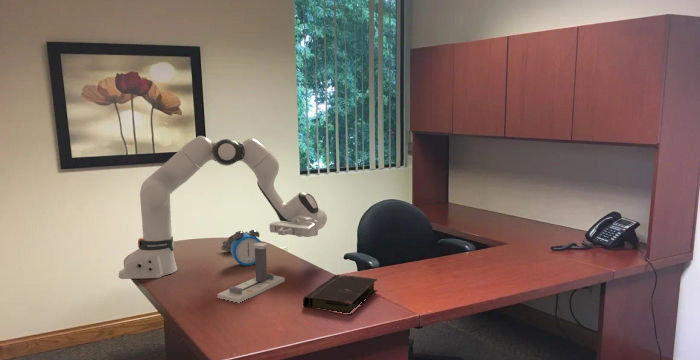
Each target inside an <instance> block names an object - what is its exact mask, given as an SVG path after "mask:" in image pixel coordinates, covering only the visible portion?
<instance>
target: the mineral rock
mask: <svg viewBox="0 0 700 360" xmlns="http://www.w3.org/2000/svg"><path fill="white" fill-rule="evenodd" d="M241 231H242V232H243V233H244V234H245V232H244V231H243V230H241ZM248 233H249V232H248ZM249 234H250V233H249ZM233 236H234V234H232V235H231V236H229V237H228V239H227V240H224V241H223V242H222V246H221V248H220V249H221V250H222V251H225V252H229V253H231V244H232V242H233V240H234V239H233Z"/></svg>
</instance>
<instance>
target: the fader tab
mask: <svg viewBox="0 0 700 360" xmlns="http://www.w3.org/2000/svg"><path fill="white" fill-rule="evenodd" d="M268 247H269V243H265V242H264V243H263V242H262V243H256V244H253V248H255V264H254V266H255V267H254V269H255V271H254V272H255V278H256V281H258V282H264V281H266V280H267V273H268V272H267V271H268V270H267V269H268V266H267V265H268V264H267V248H268Z"/></svg>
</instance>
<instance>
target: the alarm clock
mask: <svg viewBox="0 0 700 360" xmlns="http://www.w3.org/2000/svg"><path fill="white" fill-rule="evenodd" d="M242 231H243V230H238V231H236V232H235V233H234V234H233V235H234V236H233V239H234V240H233V242H232V244H231V252H230V254H231V257H232V258H233V259H234V260H235V261H236V263H238V264H239V265H240V267H242V266H244V267H245V266H247V267H248V266H253V265H255V248H253V244H256V243H263V242H262V241H261V240H260V239H259V237H260V235H261V234H260V232H259V231H258V230H257V229H251V230H249V231H245V232H244V231H243V232H244V233H245V234H244V233H243V232H242ZM249 233H250V234H249Z"/></svg>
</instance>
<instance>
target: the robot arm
mask: <svg viewBox="0 0 700 360" xmlns="http://www.w3.org/2000/svg"><path fill="white" fill-rule="evenodd" d="M209 161H215V162H216V163H218V164H219V165H221V166H226V167H228V166H232V165H234V164H235V163H237V162H242V163H244V164H245V165H246V166H248V168H250V170H251V171H252V172H253V173H254V175H255V178H256V179H257V180H256V181H257V186H258V189H259V190H260V192H261V193H262V195H263V196H264V197H265V199H266V200H267V202H268V203H269V204H270V206H271V207H272V209H273V210H274V211H275V214H276V215H277V218H278V219H279V220H278V221H274V222H270V223H269V231H270V233H276V234H277V235H281V236H286V235H287V236H288V235H290V236H296V237H298V238H300V237H301V238H302V237H303V238H305V237H306V238H311V237H317V236H318V235H319V230H322V229H323V228H324V227H325V226H326V225H327V221H328V218H327V217H328V216H327V213H326V212H325V211H324V210H322V209H320V208H319V205H318V203H317V201H316V199H315V197H314V196H313V195H312V194H310V193H308V192H305V191H301V192H299V193H297V194H296V195H295V196H293V197H292V198H291V199H290V200H289V201H288V202H287V201H286V202H285V201H284V200H283V198H282V197H281V196H280V195H279V194H278V192H277V190H276V188H275V180H276V178H277V177H278V174H279V170H280V165H279V161H278V159H277V158H276V157H275V156H274V155H273V154H272V152H271V151H270V150H269V149H268V148H267V147H266V146H264V144H262V143H261V142H260V141H258V140H257V139H255V138H252V137H251V138H250V137H249V138H247V139H245V140H244V141H242V142H239V141H236V140H233V139H230V138H225V139H220V140H219V141H216V142H213V141H212V140H211V139H209V138H208V137H206V136H204V135H198V136H196V137H195V138H193V139H192V140H190V141H188V142H187V143H186V144H185V145H184V146H182V147H181V148H180V149H179V150H178V151H177V152H176V153H175V154H174V155H172V156H171V157H170V158H169V159H168V160H167V161H166V162H165V163H164V164H162V165H161V166H160V167H159V168H158V169H156V170H155V171H154V172H153V173H152V174H151V175H150V176H148V177H147V178H146V179H145V180H144V181H143V182H142V184H141V187H140V191H139V200H140V212H141V221H142V222H141V223H142V224H141V225H142V237H140V238H138V239H137V241H138V242H137V249H136V250H135V251H134V252H132V253H131V254H130V255H129V256H128V257H127V258H126V259H125V262H124V267H123V268H122V269H120V270H119V271H118V278H119V279H121V280H124V279H125V280H131V279H133V280H134V279H136V280H137V279H159V278H162V277H163V276H167V275H170V274H173V273H176V272H177V271H178V266H177V263H176V260H175V255H174V248H175V246H174V245H175V244H174V236H172V235H173V234H172V219H171V218H172V215H171V211H172V210H171V194H173V192H175V191H176V190H177V189H178V188H179V187H181V186H182V185H183V184H185V183H187V182H188V181H189V180H190V178H192V177H193V176H194V175H195V174H196V173H197V172H198V171H199V170H200V169H202V167H203V166H204V165H205V164H206V163H207V162H209Z"/></svg>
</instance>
